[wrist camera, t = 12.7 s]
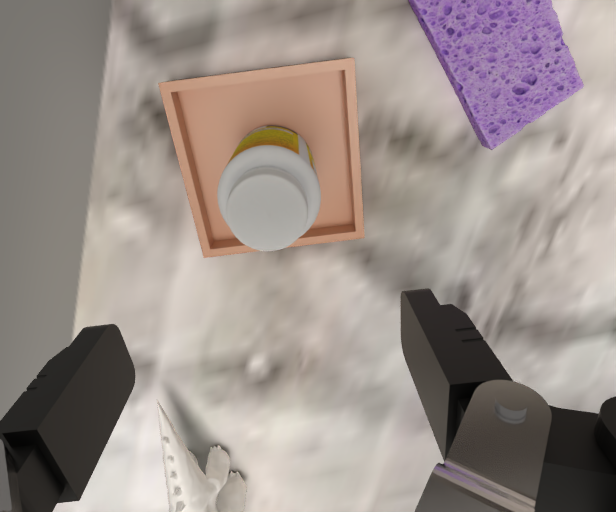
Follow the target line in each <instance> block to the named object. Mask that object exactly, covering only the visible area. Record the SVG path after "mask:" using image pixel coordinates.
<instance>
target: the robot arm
mask: <svg viewBox="0 0 616 512" xmlns="http://www.w3.org/2000/svg"><path fill="white" fill-rule="evenodd" d="M401 342H402V349H403V353H404V357H405V360H406V363H407V365H408V368H409V371H410V373H411V376H412V378H413V381H414V384H415V386H416V389H417V391H418V394H419V397H420V399H421V402H422V405H423V407H424V410H425V412H426V415H427V418H428V420H429V423H430V426H431V428H432V431H433V433H434V436H435V439H436V441H437V444H438V446H439V449H440V452H441V454H442V457H443V460H444V464H440V463H438V464H437V465H436V466H435V468H434V469H433V471H432V473H431V475H430V478H429V480H428V482H427V484H426V487H425V489H424V491H423V494H422V496H421V498H420V501H419V503H418V505H417V507H416V510H415V512H616V397H613V398H610V399H608V400H606V401H605V402H604V403H603V404H602V406H601V409H600V412H599V414H597V413H590V412H583V411H576V410H569V409H562V408H557V407H553V406H550V405H548V404H547V402H546V401H545V400H544V399H543V398H542V397H541V396H540V395H539V394H538V393H537V392H536V391H534V390H532V389H531V388H529V387H527V386H525V385H523V384H520V383H517V382H513V380H512V379H511V377H510V376H509V374H508V373H507V372H506V370H505V369H504V367H503V366H502V364H501V363H500V361H499V360H498V359H497V357H496V356H495V354H494V353H493V351H492V350H491V348H490V347H489V346H488V344H487V343H486V341H484V340H483V337H482V335H481V334H480V333H479V331H478V330H476V327H475V325H474V324H473V322H472V321H471V320H470V318H469V317H468V315H467V314H466V313H464V312H463V311H461V310H460V309H458V308H457V307H455V306H454V305H452V304H447V305H440V304H439V303H438V301H437V299H436V298H435V296H434V294H433V293H432V291H431V290H430V289H429V288H428V289H419V290H410V291H402V293H401ZM134 383H135V369H134V365H133V362H132V360H131V357H130V355H129V352H128V350H127V347H126V345H125V342H124V340H123V337H122V335H121V332H120V330H119V328H118V327H117V326H116V325H114V324H109V325H100V326H91V327H85V328H83V329H82V330H81V332H80V333H79V334H78V336H77V337H76V338H75V339H74V341H73V342H72V343H71V345H70V346H69V347H66V348H65V349H64V350H62V351H61V352H60V353H59V354H57V355H56V356H54V357H53V358H52V359H51V360H49V361H48V362H47V364H46V365H45V366H44V367H43V369H42V370H41V371H40V372H39V374H38V375H37V379H34V380H33V381H32V382H31V383H30V385H29V386H28V387H27V391H26V392H23V393H22V395H21V396H20V397H19V398H18V400H17V401H16V402H15V403H14V405H13V406H12V407H11V408H10V410H9V411H8V412H7V413H6V415H5V416H4V417H3V419H2V420H1V421H0V512H52V511H53V510H54V508H55V506H56V504H57V503H62V502H72V501H79V500H80V498H81V496H82V494H83V492H84V490H85V488H86V486H87V483H88V481H89V479H90V477H91V475H92V473H93V471H94V469H95V467H96V465H97V463H98V461H99V458H100V456H101V454H102V452H103V450H104V448H105V446H106V444H107V442H108V440H109V438H110V436H111V433H112V431H113V429H114V427H115V425H116V423H117V421H118V419H119V417H120V415H121V413H122V411H123V408H124V406H125V404H126V402H127V400H128V398H129V396H130V394H131V392H132V390H133V387H134Z"/></svg>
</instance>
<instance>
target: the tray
mask: <svg viewBox="0 0 616 512" xmlns="http://www.w3.org/2000/svg"><path fill="white" fill-rule="evenodd" d="M158 84H159V88H160V92H161V96H162V99H163V103H164V107H165V111H166V115H167V118H168V122H169V126H170V130H171V134H172V138H173V141H174V145H175V149H176V153H177V157H178V161H179V164H180V168H181V172H182V176H183V180H184V183H185V187H186V191H187V195H188V199H189V203H190V206H191V210H192V214H193V218H194V222H195V226H196V229H197V233H198V237H199V241H200V245H201V248H202V252H203V256H204V258H206V257H214V256H223V255H231V254H239V253H247V252H255V251H260V250H256V249H252V248H250V247H248V246H246V245H245V244H243V243H242V242H240V241H239V240H238V239H237V238H236V237H235V235H234V234H233V233H232V231H231V229H230V227H229V226H228V225H227V223H226V222H225V220H224V219H223V217H222V214H221V212H220V209H219V205H218V199H217V191H218V185H219V180H220V178H221V175H222V173H223V171H224V169H225V167H226V166H227V164H228V162H229V160H230V158H231V157H232V155H233V153H234V152H235V150H236V148H237V146H238V145H239V143H240V142H241V140H242V139H243V138H244V137H245V136H246V135H247V134H248V133H250V132H251V131H253V130H254V129H256V128H259V127H262V126H266V125H278V126H283V127H286V128H289V129H291V130H293V131H295V132H296V133H298V134H299V135H300V136H301V137H302V138H303V139H304V140H305V142H306V143H307V145H308V146H309V148H310V150H311V153H312V156H313V159H314V163H315V167H316V172H317V176H318V180H319V184H320V190H321V204H320V209H319V212H318V215H317V217H316V220H315V221H314V223H313V224H312V226H311V227H310V228H309V230H308V231H307V232H306V233H304V234H303V235H302V236H301V237H299V238H298V239H297V240H296V241H295V242H294V243H292V244H291V245H289V246H288V247H295V246H303V245H312V244H320V243H328V242H336V241H344V240H352V239H360V238H364V220H363V203H362V185H361V168H360V150H359V132H358V115H357V97H356V79H355V62H354V58H344V59H336V60H328V61H321V62H313V63H305V64H297V65H290V66H282V67H274V68H266V69H259V70H251V71H243V72H235V73H228V74H220V75H212V76H205V77H197V78H189V79H181V80H174V81H167V82H162V83H158ZM286 248H287V247H286Z"/></svg>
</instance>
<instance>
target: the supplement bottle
mask: <svg viewBox="0 0 616 512" xmlns="http://www.w3.org/2000/svg"><path fill="white" fill-rule="evenodd" d="M217 199H218V205H219V209H220V212H221V214H222V217H223V219H224V220H225V222H226V223H227V225H228V226H229V227H230V229H231V231H232V233H233V234H234V235H235V237H236V238H237V239H238V240H239V241H240V242H242V243H243V244H245V245H246V246H248V247H250V248H252V249H256V250H260V251H276V250H280V249H283V248H286V247H288V246H289V245H291V244H292V243H294V242H295V241H296V240H297V239H298V238H299V237H301V236H302V235H303V234H304V233H306V232H307V231H308V230H309V228H310V227H311V226H312V224H313V223H314V221H315V220H316V217H317V215H318V212H319V209H320V204H321V190H320V184H319V180H318V176H317V172H316V167H315V163H314V159H313V156H312V153H311V150H310V148H309V146H308V145H307V143H306V142H305V140H304V139H303V138H302V137H301V136H300V135H299V134H298V133H296V132H295V131H293V130H291V129H289V128H286V127H283V126H278V125H266V126H262V127H259V128H256V129H254V130H253V131H251V132H250V133H248V134H247V135H246V136H245V137H244V138H243V139H242V140H241V142H240V143H239V145H238V146H237V148H236V150H235V152H234V153H233V155H232V157H231V158H230V160H229V162H228V164H227V166H226V167H225V169H224V171H223V173H222V175H221V178H220V180H219V185H218V191H217Z"/></svg>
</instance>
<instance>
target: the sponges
mask: <svg viewBox="0 0 616 512" xmlns="http://www.w3.org/2000/svg"><path fill="white" fill-rule="evenodd" d="M409 3H410V5H411V7H412V9H413V11H414V13H415V14H416V16H417V17H418V21H419V23H420V25H421V26H422V28H423V30H424V31H425V34H426V36H427V38H428V39H429V41H430V43H431V45H432V47H433V49H434V50H435V52H436V55H437V57H438V59H439V61H440V63H441V65H442V67H443V69H444V70H445V73H446V75H447V76H448V78H449V80H450V82H451V84H452V86H453V88H454V90H455V93H456V95H457V96H458V97H459V100H460V102H461V104H462V106H463V108H464V110H465V112H466V114H467V116H468V118H469V120H470V122H471V125H472V126H473V129H474V131H475V132H476V135H477V137H478V138H479V140H480V141H481V144H482V146H484V147H487V148H489V149H491V150H492V149H494V148H495V147H497V146H498V145H500V144H501V143H503V142H504V141H505V140H507V139H509V138H510V137H512V136H513V135H515V134H516V133H517V132H519V131H521V130H522V128H523V127H524V126H525V125H526V124H527V123H531V122H534V121H535V120H536V119H537V118H539V117H540V116H542V115H544V114H545V113H546V111H547V110H549V109H551V108H553V107H554V106H555V105H558V104H559V103H560V102H561V101H564V100H566V99H567V98H569V97H570V96H571V95H573V94H574V93H575V92H577V91H578V90H580V89H582V88H583V87H584V85H583V82H582V79H581V78H580V76H579V74H578V71H577V69H576V67H575V62H574V60H573V58H572V56H571V54H570V52H569V48H568V46H567V45H565V44H564V42H563V39H562V35H563V32H562V29H561V27H560V24H559V21H558V16H557V14H556V12H555V11H554V10H553V8H552V1H551V0H409Z"/></svg>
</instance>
